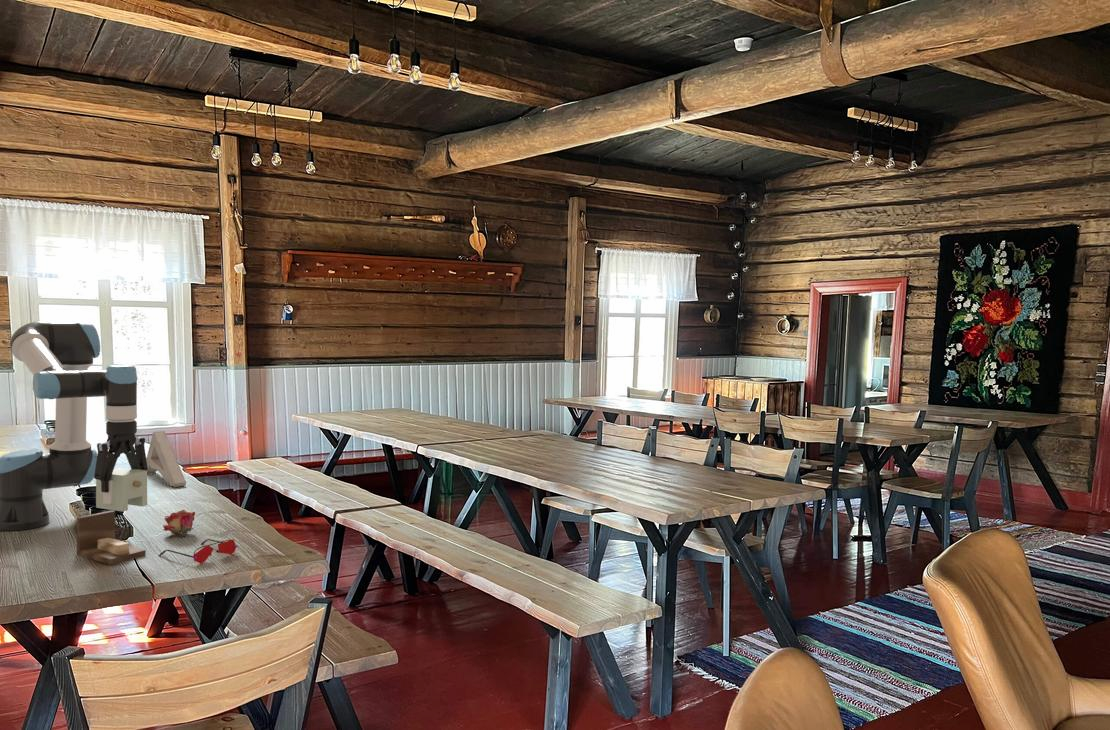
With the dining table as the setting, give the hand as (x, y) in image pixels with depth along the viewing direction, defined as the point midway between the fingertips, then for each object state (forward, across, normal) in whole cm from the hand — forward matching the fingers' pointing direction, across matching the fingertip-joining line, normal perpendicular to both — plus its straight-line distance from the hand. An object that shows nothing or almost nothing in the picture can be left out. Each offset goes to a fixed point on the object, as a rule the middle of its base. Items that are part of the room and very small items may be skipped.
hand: (121, 500), depth 219 cm
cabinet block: (+2, 0, 0) cm, 2 cm away
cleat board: (+15, +2, -1) cm, 15 cm away
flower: (+15, -21, 0) cm, 26 cm away
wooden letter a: (+16, -78, -68) cm, 105 cm away
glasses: (+16, -8, +20) cm, 27 cm away
